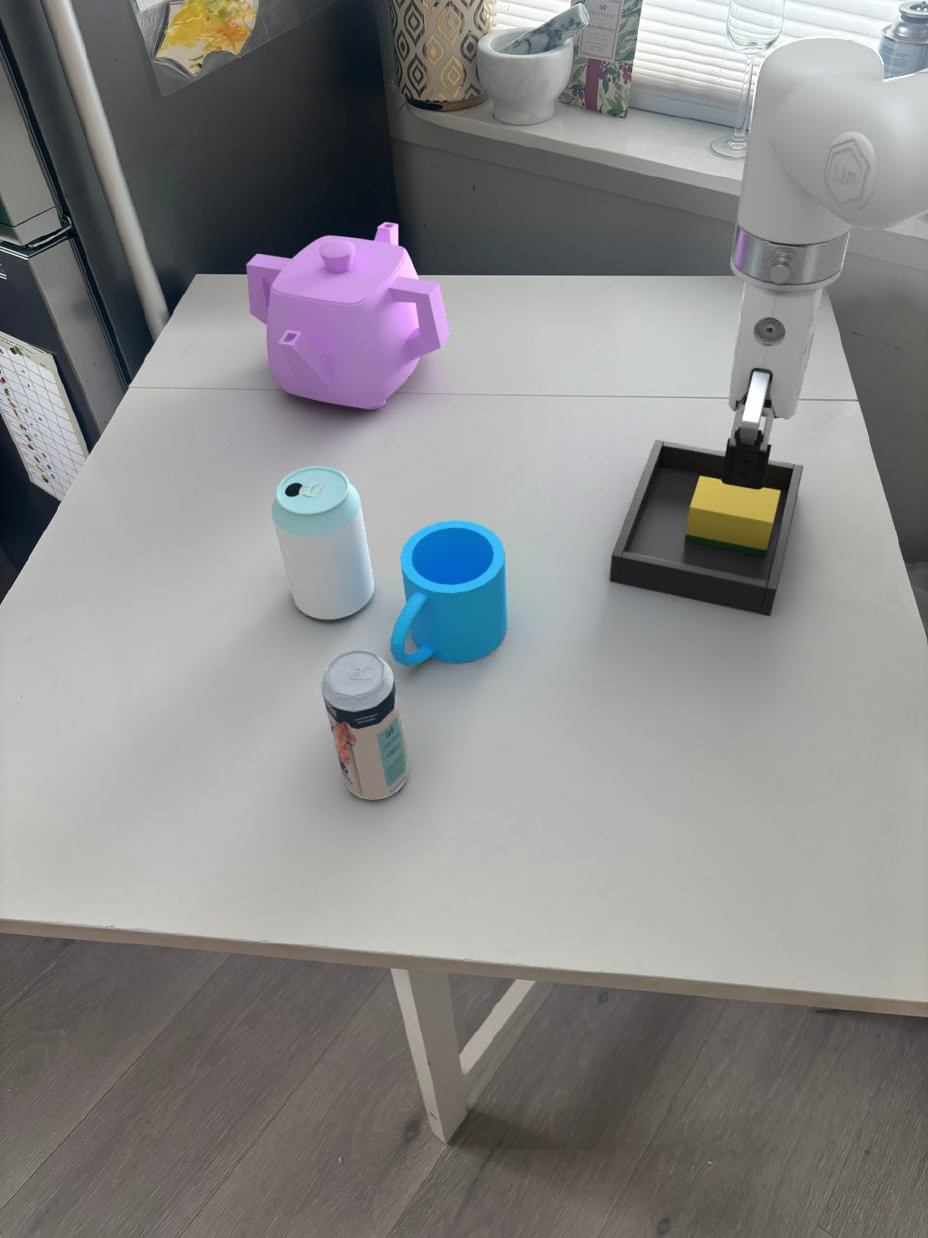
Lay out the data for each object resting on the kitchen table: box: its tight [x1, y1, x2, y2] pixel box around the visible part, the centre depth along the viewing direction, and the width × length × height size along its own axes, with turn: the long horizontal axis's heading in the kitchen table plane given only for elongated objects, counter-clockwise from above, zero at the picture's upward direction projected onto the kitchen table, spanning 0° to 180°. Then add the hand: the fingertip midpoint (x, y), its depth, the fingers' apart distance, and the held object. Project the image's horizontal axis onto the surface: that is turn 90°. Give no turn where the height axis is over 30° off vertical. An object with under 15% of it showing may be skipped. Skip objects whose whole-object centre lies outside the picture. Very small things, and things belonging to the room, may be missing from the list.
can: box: [271, 465, 375, 620], centre depth 82 cm, size 7×7×12 cm
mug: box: [390, 519, 508, 667], centre depth 79 cm, size 12×8×8 cm
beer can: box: [320, 648, 409, 801], centre depth 69 cm, size 5×5×12 cm
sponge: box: [685, 476, 781, 557], centre depth 87 cm, size 7×4×4 cm, turn 70°
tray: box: [609, 439, 804, 617], centre depth 88 cm, size 14×17×3 cm
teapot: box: [245, 221, 451, 411], centre depth 103 cm, size 19×18×15 cm
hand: (751, 448), depth 81 cm, fingers open, 9 cm apart
